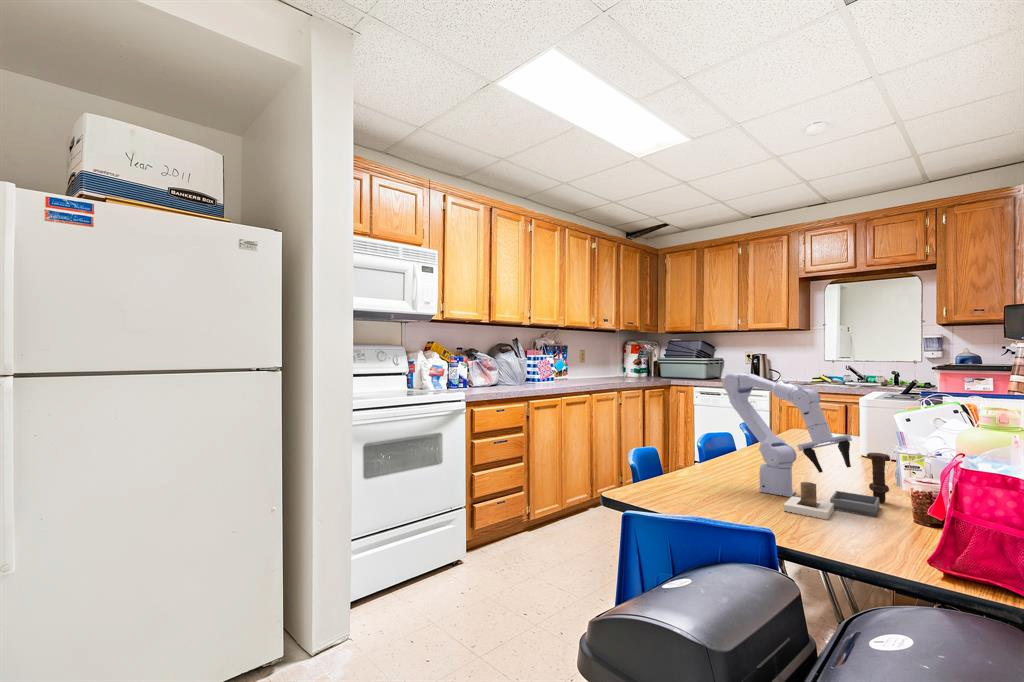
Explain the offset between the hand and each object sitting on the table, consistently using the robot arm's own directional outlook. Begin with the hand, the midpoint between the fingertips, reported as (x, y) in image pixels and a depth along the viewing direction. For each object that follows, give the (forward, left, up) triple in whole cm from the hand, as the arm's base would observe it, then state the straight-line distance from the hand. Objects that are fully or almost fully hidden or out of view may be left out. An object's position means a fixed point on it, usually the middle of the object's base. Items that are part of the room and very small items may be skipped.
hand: (834, 469), depth 146 cm
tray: (+4, +4, -12) cm, 13 cm away
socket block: (-6, -8, -12) cm, 15 cm away
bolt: (+9, +16, -12) cm, 22 cm away
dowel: (-6, -8, -12) cm, 15 cm away
